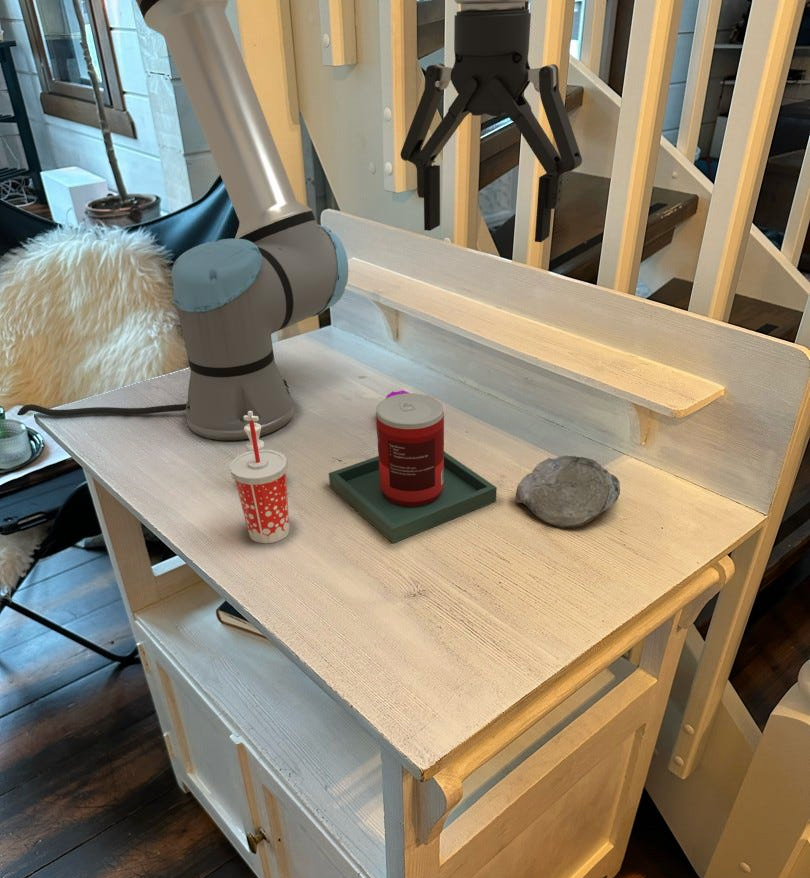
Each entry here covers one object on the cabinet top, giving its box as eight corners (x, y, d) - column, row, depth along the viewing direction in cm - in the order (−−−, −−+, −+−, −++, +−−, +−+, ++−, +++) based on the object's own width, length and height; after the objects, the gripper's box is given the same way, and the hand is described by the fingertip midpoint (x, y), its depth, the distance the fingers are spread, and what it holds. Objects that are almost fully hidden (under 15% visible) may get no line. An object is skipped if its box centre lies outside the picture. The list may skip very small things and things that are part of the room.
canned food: (416, 467, 96) (414, 386, 90) (457, 493, 91) (458, 409, 84) (367, 487, 93) (361, 405, 86) (406, 515, 87) (403, 430, 81)
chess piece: (273, 496, 92) (262, 422, 87) (235, 493, 93) (222, 419, 87) (286, 475, 96) (276, 403, 90) (250, 472, 97) (238, 401, 91)
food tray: (329, 486, 94) (328, 472, 93) (426, 452, 100) (426, 439, 99) (392, 543, 84) (392, 528, 83) (496, 501, 90) (497, 487, 89)
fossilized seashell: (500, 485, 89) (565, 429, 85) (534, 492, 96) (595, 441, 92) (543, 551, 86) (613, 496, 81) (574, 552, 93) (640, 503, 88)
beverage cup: (303, 518, 88) (288, 409, 80) (286, 549, 84) (270, 437, 75) (253, 514, 89) (234, 406, 81) (234, 545, 84) (212, 433, 76)
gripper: (629, 2, 72) (601, 235, 85) (398, 8, 82) (404, 216, 94) (607, 5, 67) (581, 253, 79) (363, 11, 77) (374, 230, 89)
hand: (485, 233), depth 87 cm, fingers open, 13 cm apart
